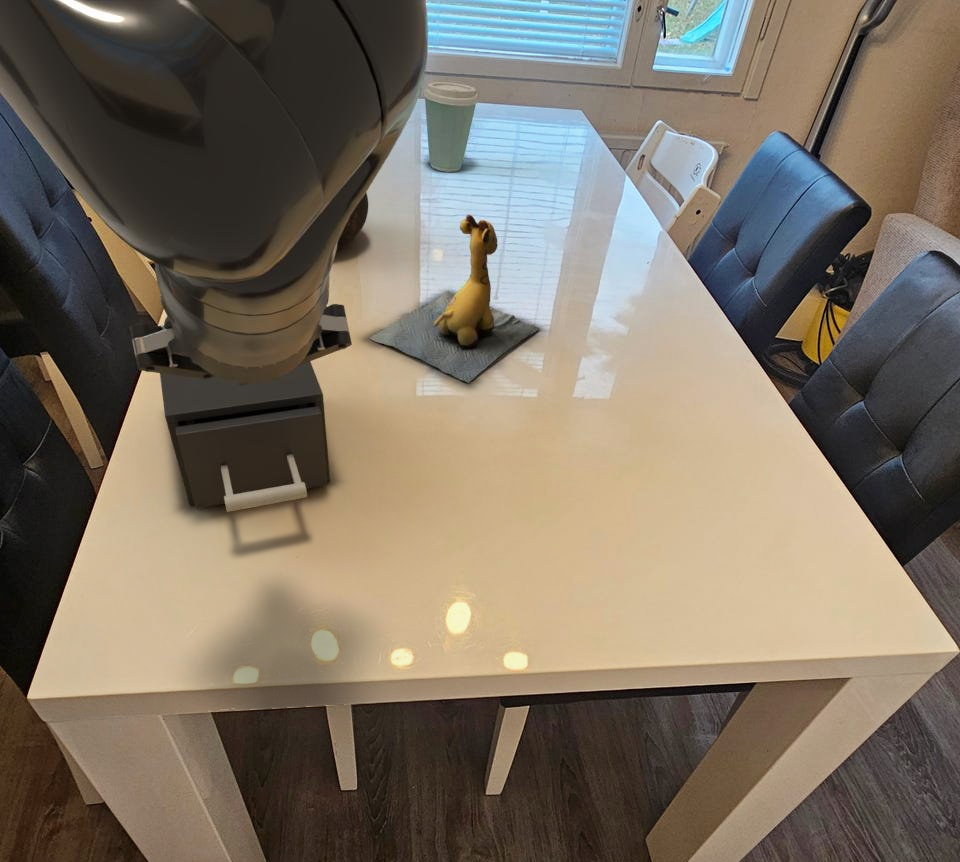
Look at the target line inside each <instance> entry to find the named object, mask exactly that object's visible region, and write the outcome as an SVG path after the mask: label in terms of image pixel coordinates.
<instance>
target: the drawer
mask: <svg viewBox="0 0 960 862" xmlns="http://www.w3.org/2000/svg"><path fill="white" fill-rule="evenodd" d="M185 425H186V426H179V427H175V430H176V436H177V440H178V444H179V447H180V451H181V455H182V459H183V462H184V466H185V470H186V474H187V477H188V481H189V485H190V488H191V492H192V496H193V500H194V503H195V504H194V507H195V509H202V508H208V507H213V506H219V505H224V504H225V505H224V506H225V509H226V512H227V513H229V512H234V511H239V510H240V511H241V510H245V509H249V508H256V507H260V506H261V507H262V506H267V505H272V504H278V503H283V502H288V501H293V500H299V499H304V498H308V492H307V491H308V490H307V489H313V488H319V487H324V486H328V481H327V476H326V464H325V452H324V441H323V429H322V418H321V412H320V409H319V407H318V406H317V407H310V408H308V406H307V404H300V405H293V406H286V407H279V408H272V409H265V410H258V411H251V412H244V413H237V414H230V415H223V416H216V417H209V418H202V419H195V420H188V421H185Z"/></svg>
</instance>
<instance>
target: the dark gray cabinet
mask: <svg viewBox="0 0 960 862" xmlns="http://www.w3.org/2000/svg"><path fill="white" fill-rule="evenodd" d="M191 360H192V359H191ZM192 362H193V363H194V364H195V362H194V361H193V360H192ZM317 377H318V376H317V375H316V373H315V370H314V367H313V364H312V361H310V362H307V363H305V364H302V365H299V366H297V367H296V368H294V369H293V370H292V371H290V372H289V373H287V374H286V375H284V376H282V377H280V378H277V379H275V380H272V381H268V382H264V383H257V384H246V385H239V383H236V382H231V381H227V380H224V379H222V378H219V377H217V376H215V377H212V378H211V379H203V378H194V377H186V376H179V375H171V374H163V373H159V378H160V386H161V395H162V403H163V411H164V417H165V421H166V425H167V428H168V432H169V436H170V441H171V443H172V446H173V450H174V454H175V457H176V461H177V465H178V469H179V472H180V477H181V479H182V482H183V483H182V484H183V487H184V490H185V493H186V497H187V501H188V505H189V506H195V503H194V500H193V496H192V492H191V488H190V485H189V481H188V477H187V474H186V470H185V466H184V462H183V459H182V455H181V451H180V447H179V444H178V440H177V436H176V430H175V427H179V426H186V425H185V421H188V420H195V419H202V418H209V417H216V416H223V415H230V414H237V413H244V412H251V411H258V410H265V409H272V408H279V407H286V406H293V405H300V404H307V406H308V408H310V407H317V406H318V407H319V409H320V412H321V418H322V429H323V441H324V452H325V464H326V476H327V482H328V481H330V480H331V476H330V475H331V474H330V464H329V463H330V461H329V450H328V439H327V427H326V415H325V403H324V393H323V390H322V388H321V385H320V383H319V380H318V378H317Z"/></svg>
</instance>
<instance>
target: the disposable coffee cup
mask: <svg viewBox="0 0 960 862" xmlns="http://www.w3.org/2000/svg"><path fill="white" fill-rule="evenodd" d="M423 96H424V104H425V105H424V106H425V119H426V132H427V133H426V134H427V144H428V145H427V147H428V159H429V162H430V166H431V167H432V169H434V170H437V171H440V172H445V173H455V172H458V171H461V168H462V167H463V163H464V159H465V154H466V150H467V146H468V142H469V141H468V140H469V137H470V131H471V127H472V124H473V118H474V114H475V110H476V106H477V104H478V102H479V93H477V89H476V88H475V87H473V86H471V85H466V84H463V83H459V82H458V83H457V82H450V81H434V82H429V83H428V84H427V85H426V87H425V89H424V91H423Z"/></svg>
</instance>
